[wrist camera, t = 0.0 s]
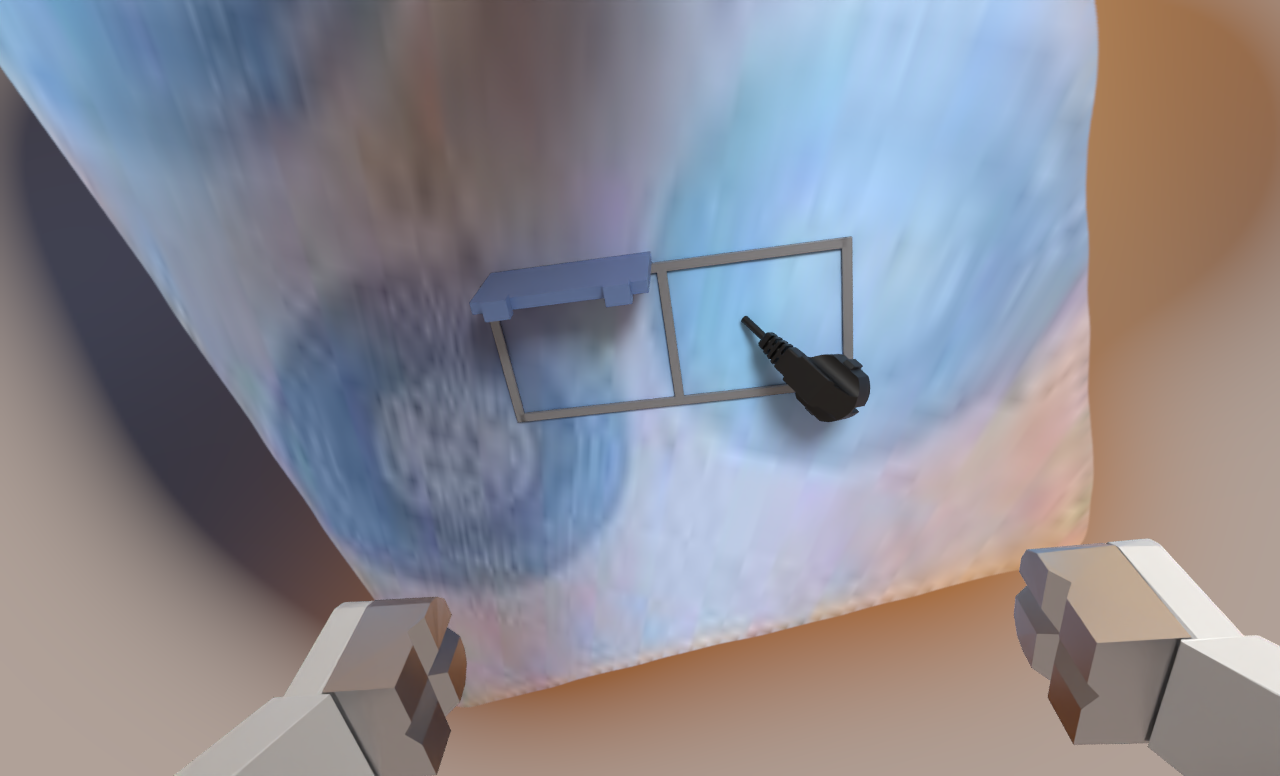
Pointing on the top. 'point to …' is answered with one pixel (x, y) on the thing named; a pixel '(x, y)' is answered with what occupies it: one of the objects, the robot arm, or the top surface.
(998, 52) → the top surface
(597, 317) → the top surface
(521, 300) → the frame
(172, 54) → the top surface
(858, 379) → the power plug
